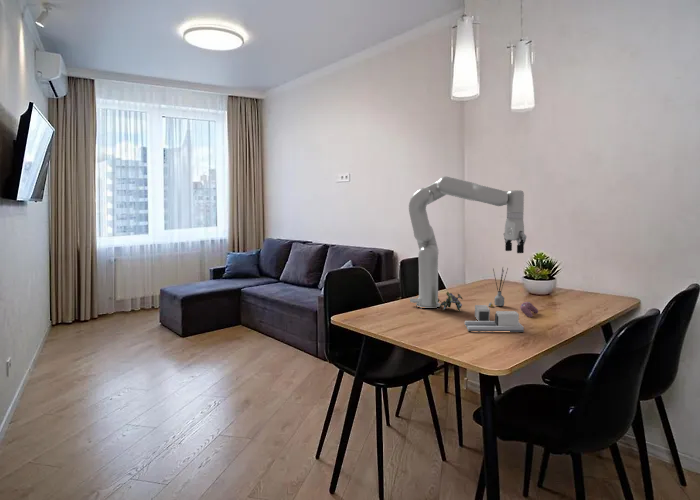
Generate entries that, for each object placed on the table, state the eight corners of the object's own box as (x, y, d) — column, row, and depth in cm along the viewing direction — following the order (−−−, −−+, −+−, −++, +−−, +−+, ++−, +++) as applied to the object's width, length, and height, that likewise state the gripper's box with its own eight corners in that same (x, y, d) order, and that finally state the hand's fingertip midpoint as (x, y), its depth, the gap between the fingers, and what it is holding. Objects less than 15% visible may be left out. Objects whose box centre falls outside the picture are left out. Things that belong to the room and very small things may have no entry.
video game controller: (530, 315, 213) (524, 301, 214) (539, 312, 210) (532, 298, 211) (523, 320, 205) (517, 305, 206) (533, 316, 202) (526, 302, 203)
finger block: (474, 317, 205) (474, 305, 204) (485, 317, 204) (486, 305, 204) (478, 322, 197) (478, 309, 196) (489, 323, 196) (490, 309, 195)
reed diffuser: (504, 304, 229) (505, 265, 226) (512, 307, 222) (512, 267, 220) (486, 305, 226) (486, 266, 224) (493, 309, 220) (494, 268, 217)
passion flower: (458, 322, 218) (467, 305, 210) (437, 319, 216) (445, 302, 209) (454, 304, 226) (463, 288, 219) (434, 301, 225) (442, 285, 217)
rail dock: (468, 332, 183) (468, 315, 182) (464, 325, 193) (464, 309, 192) (523, 332, 181) (524, 315, 180) (517, 325, 191) (517, 309, 190)
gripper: (498, 216, 221) (497, 250, 223) (518, 217, 204) (517, 254, 206) (511, 215, 223) (511, 249, 225) (533, 216, 206) (532, 253, 208)
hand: (514, 251), depth 215 cm, fingers open, 9 cm apart
